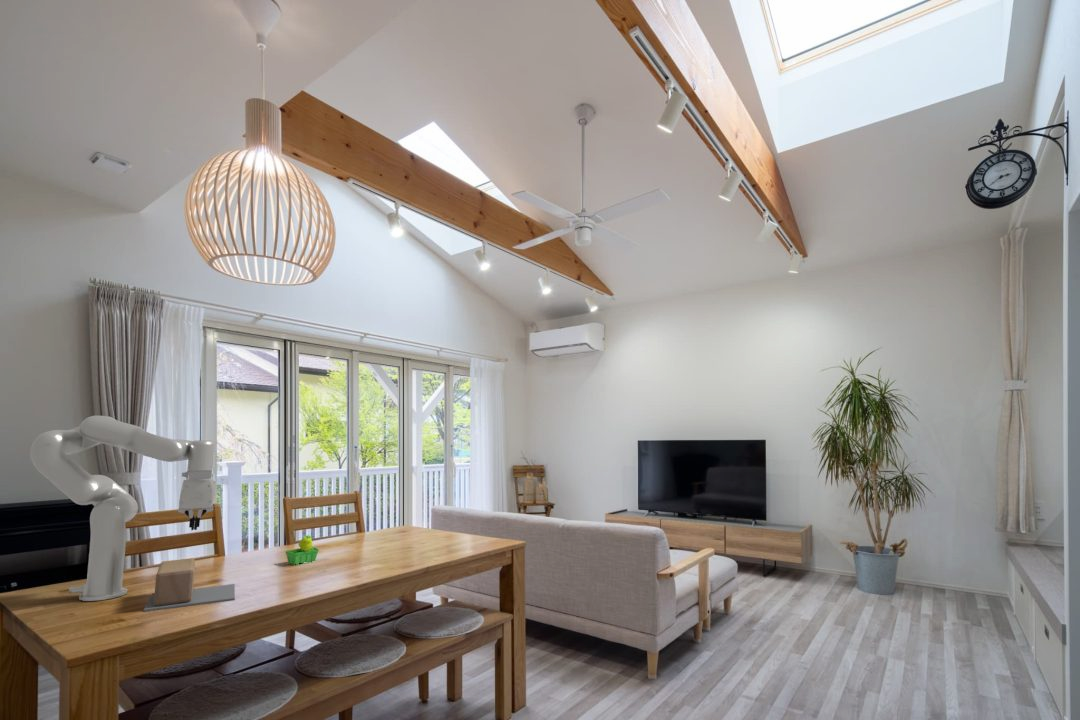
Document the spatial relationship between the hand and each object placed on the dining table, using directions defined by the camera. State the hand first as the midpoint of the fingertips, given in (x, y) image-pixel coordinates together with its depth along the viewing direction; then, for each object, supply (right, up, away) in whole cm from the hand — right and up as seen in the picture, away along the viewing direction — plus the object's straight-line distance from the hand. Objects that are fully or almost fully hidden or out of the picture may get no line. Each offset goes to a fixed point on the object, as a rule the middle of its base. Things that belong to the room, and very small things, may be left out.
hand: (194, 529), depth 195 cm
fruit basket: (+22, -25, +37) cm, 50 cm away
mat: (+7, -19, -12) cm, 24 cm away
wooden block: (-3, -14, -4) cm, 15 cm away
